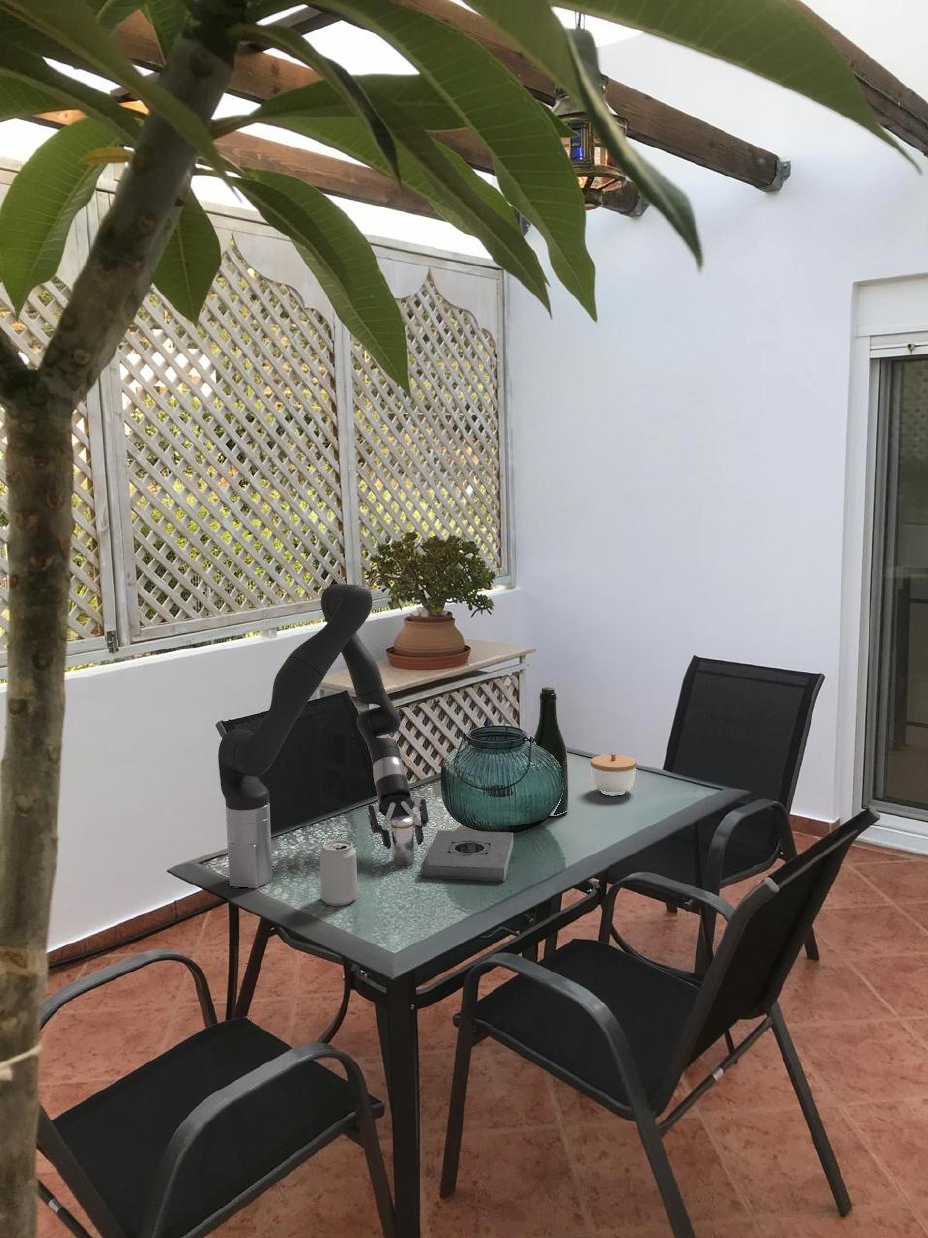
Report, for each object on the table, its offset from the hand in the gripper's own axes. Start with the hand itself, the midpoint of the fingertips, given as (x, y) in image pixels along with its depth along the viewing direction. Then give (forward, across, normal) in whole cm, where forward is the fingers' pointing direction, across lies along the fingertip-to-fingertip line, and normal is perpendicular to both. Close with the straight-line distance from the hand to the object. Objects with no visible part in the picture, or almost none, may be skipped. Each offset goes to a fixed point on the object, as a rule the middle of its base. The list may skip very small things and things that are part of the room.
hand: (404, 845), depth 218 cm
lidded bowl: (-19, +68, +25) cm, 75 cm away
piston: (+2, 0, +4) cm, 5 cm away
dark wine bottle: (-12, +44, +19) cm, 50 cm away
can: (+13, -18, -7) cm, 23 cm away
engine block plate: (+5, +14, +1) cm, 15 cm away
